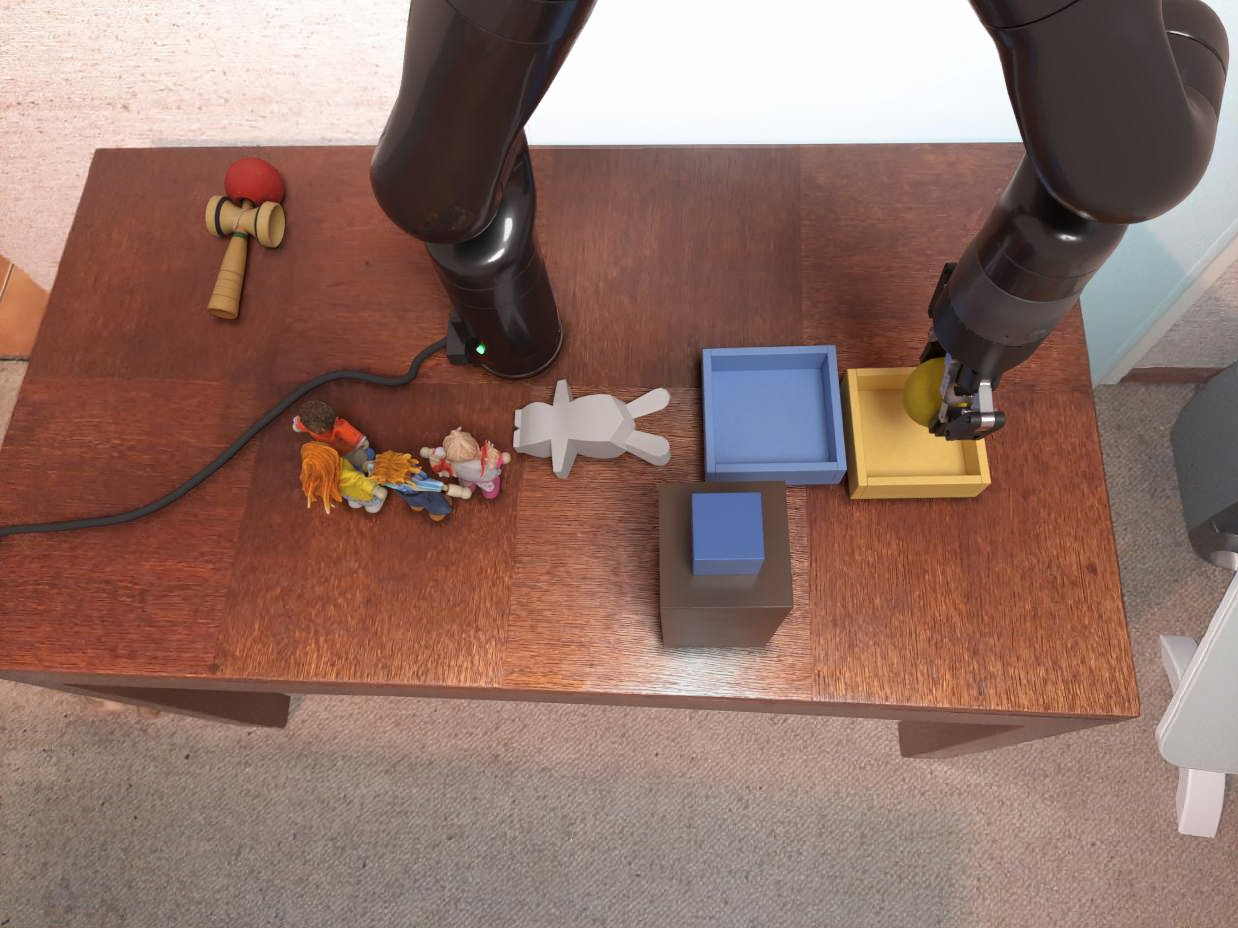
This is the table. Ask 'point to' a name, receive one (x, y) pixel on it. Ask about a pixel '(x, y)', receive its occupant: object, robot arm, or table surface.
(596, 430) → the bunny figurine
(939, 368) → the lemon
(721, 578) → the stand
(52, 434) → the table surface
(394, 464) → the doll family
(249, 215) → the kendama
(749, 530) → the blue block
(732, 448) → the blue bin
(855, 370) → the yellow bin
